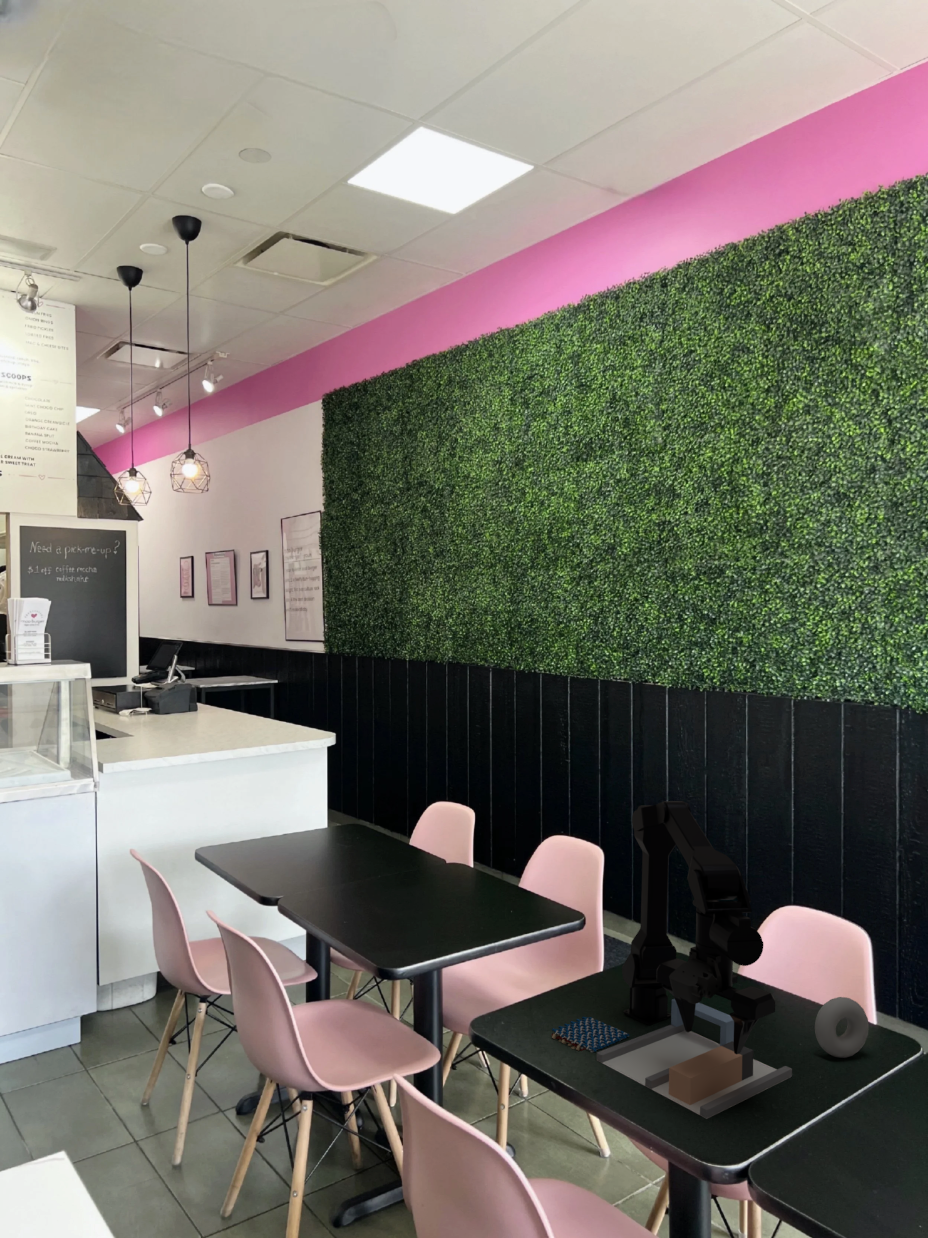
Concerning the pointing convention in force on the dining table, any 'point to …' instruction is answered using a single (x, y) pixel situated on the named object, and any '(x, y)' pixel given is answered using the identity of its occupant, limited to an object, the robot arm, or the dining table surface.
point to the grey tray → (674, 1045)
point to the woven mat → (588, 1034)
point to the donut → (854, 1032)
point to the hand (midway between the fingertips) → (712, 1042)
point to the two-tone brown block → (710, 1073)
